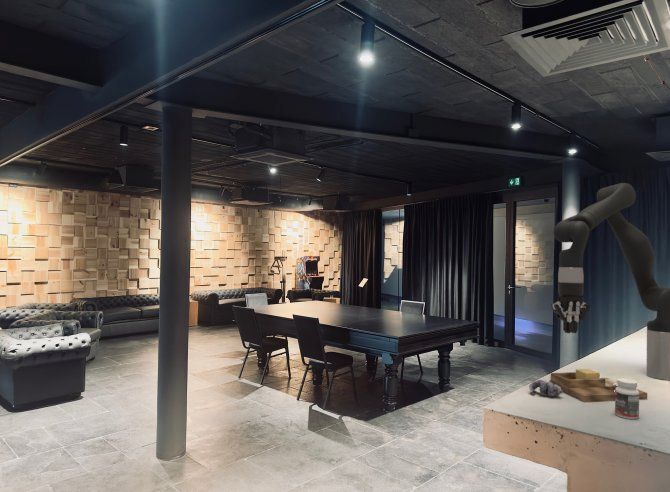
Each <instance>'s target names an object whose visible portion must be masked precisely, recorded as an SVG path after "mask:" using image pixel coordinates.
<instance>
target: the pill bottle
mask: <svg viewBox="0 0 670 492" xmlns="http://www.w3.org/2000/svg"><path fill="white" fill-rule="evenodd" d="M617 384H618V387H616V389H615V401H614V412H615V413H614V414H615V415H616V416H618V417H621V418H622V419H626V420H627V419H628V420H637V419H639V417H640V400H639V391H638V390H639V389H638V388H637V387H638V382H637V381H636V380H633V379H629V378H623V377H622V378H618V379H617ZM637 389H638V390H637Z"/></svg>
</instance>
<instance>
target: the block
mask: <svg viewBox="0 0 670 492" xmlns="http://www.w3.org/2000/svg"><path fill="white" fill-rule="evenodd" d="M575 372H576V379H598V378H601V376H600V372H598V371H596V370H592V369H590V368H585V369H584V368H583V369H582V368H579V369H576V368H575Z"/></svg>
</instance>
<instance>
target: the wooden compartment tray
mask: <svg viewBox="0 0 670 492" xmlns="http://www.w3.org/2000/svg"><path fill="white" fill-rule="evenodd" d="M603 378H604V379H605V387H589V388H566V387H564V386H562V385H560V384H557V383H555V382H553V381H551V379H549V382H551V383H552V384H553V385H554V384H556V385H558V386H559V387H561V389H562V390H563V392H562V393H564V394H565V395H568V396H570V397H572V398H575V399H576V400H578V401H580V402H582V403H593V402H594V403H597V402H598V403H599V402H600V403H601V402H615V392H614V390H615V389H616V387H618V386H616V385H613V384H614V383H617V381H616V380H613V379H611V378H608V377H603ZM636 389H637V390H638V391H639V401H641V400H643V401H644V400H648V392H646V391H643V390H640V389H638V388H636Z"/></svg>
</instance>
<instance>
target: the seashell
mask: <svg viewBox="0 0 670 492" xmlns="http://www.w3.org/2000/svg"><path fill="white" fill-rule="evenodd" d="M538 388H539V392H540V393H541V395H542V396H549V398H553V397H559V396H560V395H561V394H563V393H564V392H563V390H562V389H561V387H559V386H558V385H556V384H554V385H553V384H552V383H551V382H550V381H548V382H546V381H545V380H542V379H538V380H535V381H532V382H531V383H530V384H529V385H528V389H529V392H530V393H531V394H532V395H534V396H536V395H537V391H536V389H538Z"/></svg>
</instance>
